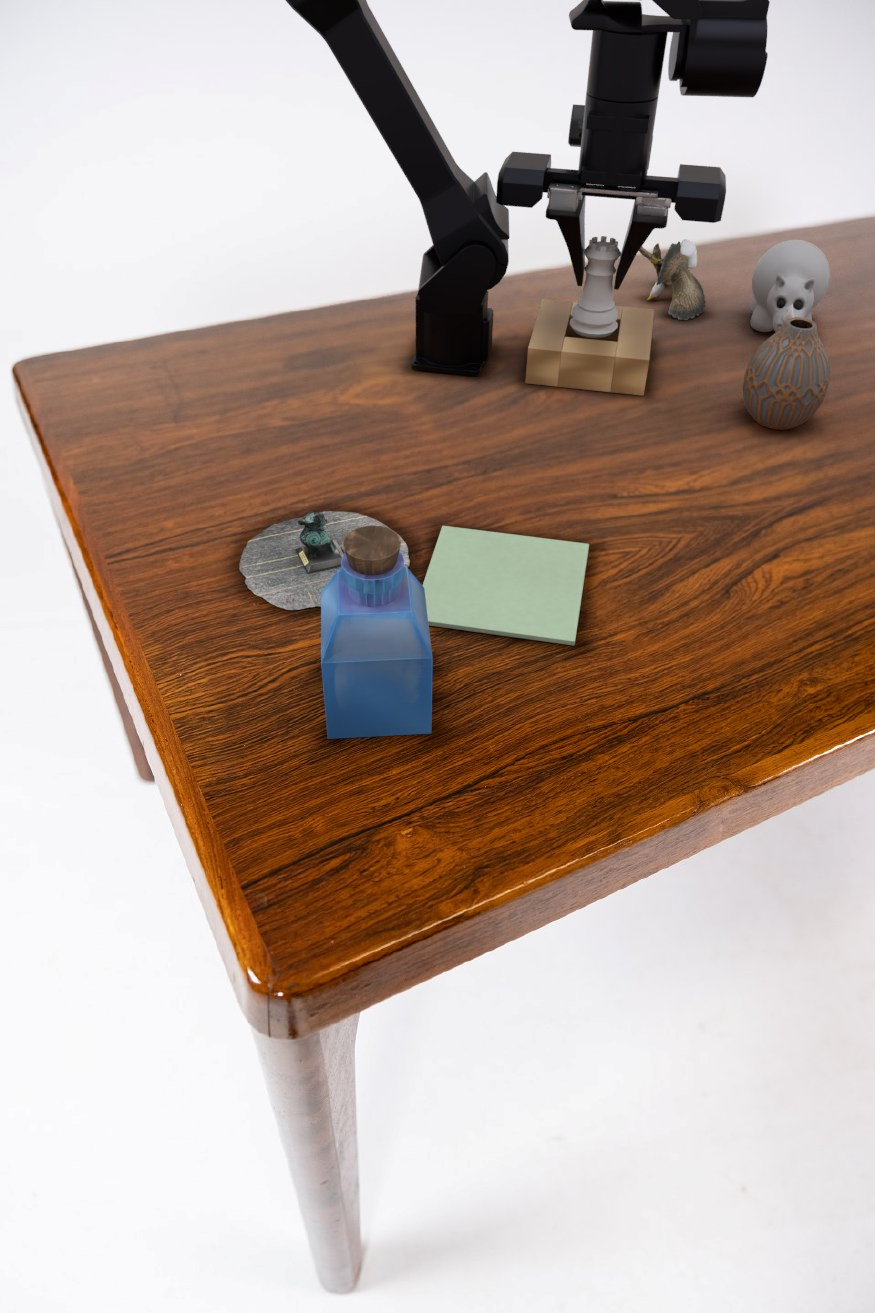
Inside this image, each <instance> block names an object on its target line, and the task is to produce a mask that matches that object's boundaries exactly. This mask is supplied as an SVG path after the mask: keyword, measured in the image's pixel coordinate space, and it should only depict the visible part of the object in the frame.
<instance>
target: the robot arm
mask: <svg viewBox="0 0 875 1313" xmlns="http://www.w3.org/2000/svg"><path fill="white" fill-rule="evenodd" d="M651 1H652V2H653V3H654V4H656V5H657V6H658V7H659V8H660V9H661V10H662V11H663V12H664V13H665V14H667V15H655V14H645V13H644V14H643V8H642V7H643V5H642V3H641V1H623V0H622V1H619V0H617V1H616V0H582V1H580V3H578V4H577V5H576V6H575V7H574V8H573V9H570V10H569V13H568V18H569V23H570V26H571V28H572V30H574V31H592V34H591V35H592V36H591V45H590V54H589V64H588V73H587V82H586V92H585V100H584V104H572V108H571V114H570V122H569V129H568V140H567V144H568V145H569V146H570V147H571V148H573V147H574V148H580V151H579V160H578V168H577V169H568V168H555V167H552V154H551V153H536V152H523V151H511V153H509V155H508V156H507V157H505V159H504V160H503V162H502V165H501V167H500V169H499V171H498V175H497V181H496V192H495V189H494V187H493V184H492V181H491V178H490V176H489V173H488V172H486V171H485V172H483V173H482V174H481V175H480V176H479V177H478V178H477V179H475V180H473V179H472V178H471V177H470V176H469V175H468V174H467V173H466V172H465V171H464V170H463V169H461V167H460V166H459V165H458V163H457V162H456V161H455V159H454V157H453V155H452V153H451V152H450V150H449V148H448V146H447V144H446V142H445V141H444V138H443V137H442V135H441V133H440V132H439V130H438V128H437V126H436V124H435V123H434V121H433V119H432V117H431V115H430V114H429V112H428V110H427V109H426V106H425V104H424V102H423V101H422V99H421V97H420V96H419V93H418V92H417V91H416V90H417V89H416V88H415V87H414V85H413V82H412V81H411V80H410V77H409V76H408V74H407V72H406V70H405V69H404V67H403V65H402V63H401V61H400V59H399V58H398V56H397V55H396V52H395V50H394V49H393V47H392V45H391V43H390V42H389V40H388V38H387V36H386V35H385V33H384V31H383V29H382V28H381V26H380V24H379V21H378V20H377V18H376V16H375V15H374V13H373V11H372V9H371V8H370V6H369V4H368V1H367V0H285V2H286V3H287V4H288V5H289V6H290V8H291V9H292V10H293V11H294V12H295V13H296V14H297V15H299V17H300V18H302V19H303V20H304V21H305V22H306V24H308V25H309V26H310V27H311V28H312V29H314V31H316V32H317V34H318V35H319V36H320V37H322V39H323V40H324V41H325V43H326V44H327V46H328V48H329V50H330V51H331V53H332V54H333V56H334V58H335V59H336V61H337V63H338V65H339V66H340V68H341V70H342V71H343V73H344V75H345V76H346V79H347V80H348V82H349V83H350V85H351V86H352V89H353V90H354V91H355V93H356V95H357V96H358V98H359V100H360V102H361V103H362V105H363V107H364V109H365V110H366V112H367V113H368V115H369V117H370V119H371V120H372V122H373V124H374V126H375V127H376V129H377V131H378V132H379V134H380V136H381V138H382V139H383V140H384V142H385V144H386V146H387V148H388V149H389V151H390V152H391V154H392V156H393V158H394V159H395V161H396V163H397V164H398V166H399V169H401V171H402V173H403V174H404V176H405V178H406V179H407V181H408V183H409V184H410V186H411V188H412V189H413V191H414V193H415V195H416V196H417V198H418V200H419V204H420V205H421V208H422V211H423V215H424V218H425V222H426V225H427V228H428V229H427V230H428V232H429V235H430V239H431V242H432V245H431V246H430V247H429V248H428V249H427V250H426V251H425V252H424V253H423V255H422V260H421V267H420V272H419V273H420V274H419V282H418V289H417V294H416V296H415V298H414V299H415V353H414V356H413V358H412V360H411V362H410V367H411V369H413V370H418V371H428V372H437V373H446V374H456V375H465V376H479V375H480V373H481V372H482V368H483V366H484V363H486V362H487V361H488V360H489V358H490V355H491V352H492V349H493V333H494V332H493V331H494V330H493V329H494V309H493V307H489V291H490V290H492V289H494V287H496V286H497V285H498V284H499V283H501V281H502V280H503V279H504V276H505V275H506V273H507V269H508V266H509V259H510V258H509V257H510V256H509V239H510V210H509V208H508V207H515V208H516V207H517V208H518V207H519V208H528V209H529V208H530V209H532V208H533V207H534V206H536V205H537V204H538V203H539V202H540V201H542V199H543V196H544V193H546V194H547V196H546V198H547V199H548V203H547V206H546V210H545V218H546V219H547V220H551V221H552V220H553V221H556V224H557V225H558V227H559V228H558V229H559V230H560V232H561V235H562V237H563V239H564V242H565V245H566V248H567V252H568V254H569V258H570V262H571V266H572V269H573V273H574V277H575V281H576V285H577V287H582V286H583V285H584V278H585V277H584V276H585V267H586V256H585V254H584V250H585V249H586V241H585V240H586V233H585V232H586V231H585V229H586V228H585V226H586V224H585V220H586V219H585V218H586V198H587V197H594V198H595V197H597V198H607V199H608V198H609V199H620V200H621V199H622V200H633V201H634V202H633V206H632V210H631V214H630V217H629V221H628V226H627V229H626V232H625V233H626V234H625V237H624V241H623V244H622V248H621V250H620V252H621V256H620V257H619V258H618V262H617V267H616V272H615V276H614V277H615V278H614V286H613V289H614V290H616V291H617V290H619V289H620V288H621V285H622V283H623V282H624V279H625V278H626V276H627V274H628V271H629V269H630V268H631V265H633V264H632V263H633V262H634V260H635V258H636V256H637V254H638V253H639V249H640V248H641V247H643V245H644V244H645V243H646V241H647V239H648V238H649V237H650V235H651V234H652V232H653V231H654V230H655V229H659V230H660V229H661V230H662V229H665V228H667V226H668V217H669V209H671V205H672V204H674V208H673V210H674V211H675V213H676V214H677V215H678V216H679V218H680V219H681V221H687V222H698V223H699V222H700V223H709V224H714V223H715V224H716V223H720V222H721V221H722V216H723V211H724V206H725V201H726V195H727V178H726V176H727V175H726V174H725V172H724V171H723V169H722V168H721V166H709V165H695V164H682V163H680V164H679V167H678V172H677V177H673V176H659V175H658V176H657V175H649V174H648V170H649V167H650V160H651V153H652V147H653V141H654V129H655V122H656V117H657V116H656V115H657V108H658V101H659V96H660V95H659V94H660V88H661V81H662V74H663V67H664V62H665V61H664V60H665V54H666V48H667V40H668V33H672V36H671V41H670V47H669V54H668V65H667V74H668V81H669V82H678V81H679V82H678V84H679V93H680V95H681V96H684V97H685V96H686V97H722V98H724V97H725V98H755V97H756V96H757V94H758V92H759V90H760V87H761V84H762V83H763V79H764V74H765V71H766V66H767V61H768V57H769V56H768V54H769V53H768V52H767V43H768V42H767V41H768V12H769V8H770V2H771V1H770V0H651Z"/></svg>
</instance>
